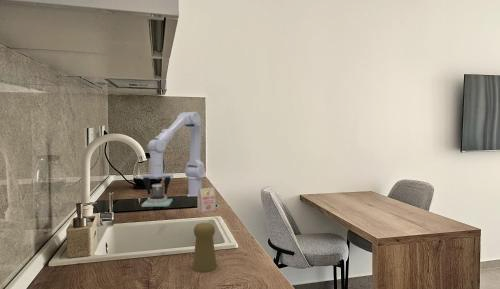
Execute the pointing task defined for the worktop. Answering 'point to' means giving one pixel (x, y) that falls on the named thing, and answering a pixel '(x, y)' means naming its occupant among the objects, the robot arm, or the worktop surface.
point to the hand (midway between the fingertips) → (157, 193)
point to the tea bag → (206, 200)
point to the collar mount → (157, 200)
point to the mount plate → (157, 203)
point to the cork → (204, 248)
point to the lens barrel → (157, 191)
